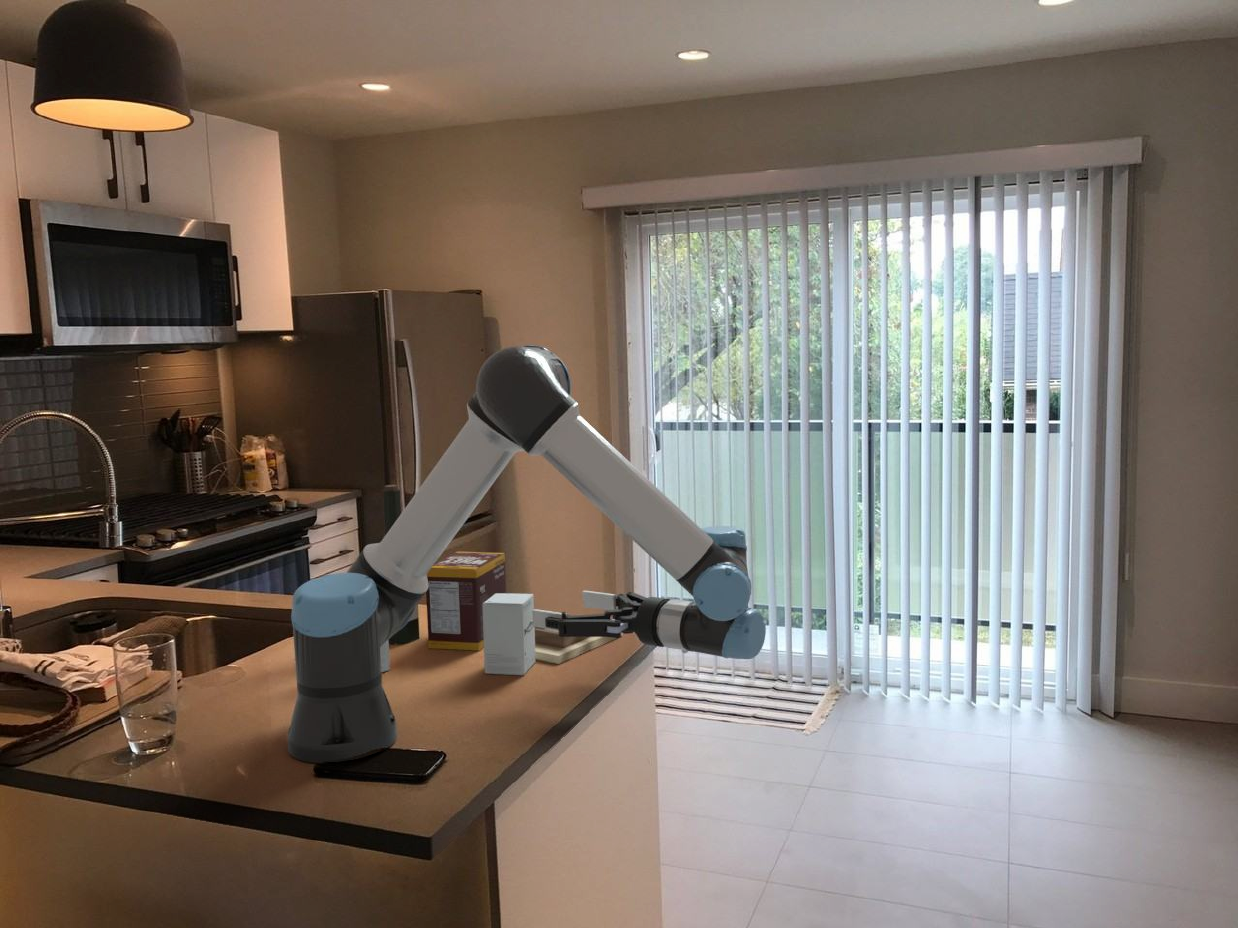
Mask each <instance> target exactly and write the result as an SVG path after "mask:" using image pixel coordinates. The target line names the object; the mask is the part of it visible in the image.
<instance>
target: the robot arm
mask: <svg viewBox="0 0 1238 928" xmlns="http://www.w3.org/2000/svg"><path fill="white" fill-rule="evenodd" d="M570 376H571V375H570V374H569V371H568V368H567V367H566V364H564V362H563V361H562V360H561V358H560V357H558V356H557V355H556V354H555V353H554V352H552V351H550V350H549V349H547V348H546V347H541V346H537V345H531V344H530V345H529V344H528V345H527V344H526V345H523V346H519V345H518V346H508V347H505V348H504V347H503V348H502V349H500V350H498V351H496V352H494V353H492V355H490V356H489V357H488V358H487V359H486V360H485V361H484V363H483V364H482V366H481V367H480V369H479V372H478V375H477V378H476V385H475V388H476V389H475V393H474V394H473V395H472V397H471V398H470V399H469V401H468V402H467V404H466V408H467V415H468V420H467V421H466V423H465V424H464V425H463V427H462V428H461V430H460V431H459V432H458V434H457V436H456V437H455V438H454V440H453V441H452V443H451V444H450V445H449V447H448V448H447V450H446V451H445V452H444V453H443V455H442V456H441V458H440V459H439V460H438V462H437V463H436V464H435V466H434V467H433V469H432V470H431V472H430V473H429V475H427V477H426V479H425V480H424V481H423V482H422V484H421V485H420V487H419V488H418V489H417V491H416V493H415V494H414V495H413V497H412V498H411V499H410V501H409V502H408V504H407V505H406V507H404V509H403V510H402V511H401V515H400V516H399V517H398V519H397V520H396V522H395V523H394V524H393V526H392V527H391V529H390V530H389V531H388V533H387V534H386V536H385V537H384V538H383V537H382V538H383V540H382V539H381V540H382V541H381V540H380V542H376V543H370V544H367V545H365V547H363V550H362V551H361V552H360V553H359V555H358V556H357V557H356V559H355V560H354V562H353V563H352V564H351V566H350V567H349V569H348V570H347V571H346V572H340V573H339V572H338V573H331V574H330V573H329V574H326V575H321V577H320V578H313V579H309V580H308V581H306V582H304V583H303V584H301V585H300V586H299V587H298V588H297V589H296V590H295V592H294V594H293V595H292V598H291V599H292V602H291V605H292V606H291V608H292V609H291V614H290V619H291V624H292V634H293V648H294V649H293V650H294V659H295V660H294V661H295V662H294V663H295V676H296V692H297V693H296V701H295V703H294V704H295V705H294V708H293V712H292V717H291V720H290V721H291V722H290V726H289V728H288V730H287V734H286V742H287V751H288V754H289V755H290V756H292V757H293V758H294V759H296V760H299V761H302V762H307V763H313V764H314V763H315V764H324V763H323V762H325V761H327V760H338V759H347V758H351V757H354V756H358V755H361V754H365V753H367V752H369V751H371V750H375V749H380V748H387V749H389V748H390V747H392V745H394V744H395V742H396V741H397V739H398V728H397V726H398V725H397V720H396V717H395V715H394V713H393V709H392V706H391V705H390V702H389V699H388V697H387V695H386V692H385V689H384V687H383V679H382V677H383V676H382V672H381V656H380V647H381V646H382V645H383V644H384V643H385V642H386V641H387V640H388V639H389V638H391V637H392V636H393V635H394V634H395V633H397V632H398V631H399V630H401V629H402V628H403V627H404V626H405V625H406V624H407V623H408V621H409V620H410V618H411V617H412V614H413V612H414V610H415V606H416V605H417V604H418V605H419V602H420V601H421V599H422V598H423V597H424V595H426V591H427V590H428V588H429V583H428V579H427V573H428V572H429V571H430V569H431V568H432V566H433V565H434V564H435V563H436V562H438V561H439V558H440V557H441V556H442V554H443V553H444V551H445V550H446V549H447V547H448V546H449V545H450V543H451V542H452V541H453V540H454V537H455V536H456V535H457V533H458V532H459V531H460V529H461V528H462V527H463V525H464V524H465V523H466V521H467V520H468V519H469V517H470V516H471V514H472V513H473V512H474V510H475V509H476V507H477V506H478V505H479V504H480V502H481V500H483V498H484V497H485V495H486V494H487V492H488V491H489V490H490V489H491V487H492V486H493V485H494V483H495V482H496V480H497V479H498V477H499V476H500V475H501V473H502V472H503V470H504V469H505V468H506V467H507V465H508V464H509V462H510V461H511V460H512V459H513V457H514V455H515V454H517V453H520V452H526V453H527V454H528V455H529V456H541V457H542V458H544V460H546V461H547V462H548V463H549V464H550V465H551V466H552V467H553V468H554V469H555V470H556V471H557V472H559V473H560V475H562V476H563V477H564V478H566V479H567V481H568V482H569V483H571V484H572V486H574V487H575V488H576V489H577V490H578V491H579V492H580V493H581V494H582V495H584V496H585V497H586V499H588V500H589V501H590V502H591V503H592V504H594V505H595V507H597V508H598V510H600V511H601V512H602V513H603V514H604V515H605V516H606V517H607V518H608V519H609V520H611V521H612V523H614V524H615V525H616V526H617V527H618V528H619V529H621V531H623V532H624V533H625V534H626V535H627V536H628V537H629V538H630V539H631V540H632V541H633V542H634V543H636V544H637V546H638V547H640V549H642V550H643V551H644V552H645V553H646V554H647V555H649V557H650V558H651V559H653V560H654V561H655V562H656V563H657V564H658V565H660V567H661V568H662V569H664V571H666V572H667V573H668V574H669V575H670V576H671V577H672V578H673V579H674V580H675V581H677V583H678V584H679V585H680V586H681V587H682V588H683V589H684V590H685V591H686V592H688V593H689V594H690V595H691V596H692V598H693V601H691V600H685V599H684V600H683V599H678V598H677V599H676V598H675V599H674V598H673V599H672V598H671V599H670V598H665V597H664V598H663V597H657V596H649V597H646V596H644V595H641V594H638V593H635V592H633V591H627V592H626V594H623V593H619V594H617V595H616V594H613V593H608V592H599V591H591V590H582V593H581V594H582V608H590V609H597V610H605V612H604V613H594V614H593V613H591V614H578V615H577V614H575V615H576V616H567V614H568V613H567V612H566V611H561V613H559V612H560V611H555V612H552V611H553V610H544V609H543V610H542V609H537V608H536V609H535V608H534V610H532V615H533V627H540V628H546V629H552V630H558V631H559V636H560V637H612V638H616V639H619V638H621V637H622V636H621V632H622V634H625V635H626V634H628V635H629V634H633V633H634V634H635V635H636V636H637V639H638V640H639V641H640V642H641V643H642V644H644V645H647V646H652V647H659V648H668V649H673V650H679V651H680V650H681V653H682V654H686V653H688V652H691V653H692V652H694V653H699V654H704V655H710V656H715V657H721V658H723V659H737V660H752V659H755V657H756V656H758V655H759V653H760V652H761V651H762V649H763V646H764V643H765V639H766V633H767V632H766V628H767V627H766V623H765V621H764V616H763V614H762V613H761V612H760V611H759V610H757V609H754V608H752V607H749V603H750V599H751V595H752V582H751V578H750V577H749V572H748V571H749V570H748V564H747V552H748V546H747V545H746V540H747V539H746V534H745V531H744V530H743V529H741V528H740V527H736V526H730V525H713V526H706V527H703V528H701V527H700V526H698V524H696V523H695V522H694V521H693V519H692V518H690V517H689V516H688V515H687V514H686V513H685V512H684V511H683V510H682V509H680V508H679V507H678V506H677V505H676V504H675V503H674V502H673V501H672V500H671V499H670V498H669V497H668V496H667V495H666V494H665V493H663V492H662V491H661V490H660V489H659V488H658V487H657V486H656V485H655V484H653V483H652V482H651V481H650V479H648V478H647V477H646V476H645V475H644V474H643V473H642V472H641V471H640V470H639V469H638V468H637V467H635V465H633V464H632V463H631V461H629V460H628V459H627V458H626V457H625V456H624V455H623V454H622V453H621V452H620V451H619V450H617V448H615V447H614V446H613V444H611V443H610V442H609V441H608V440H607V439H605V437H604V436H602V435H601V434H600V433H599V432H598V431H597V430H596V429H595V428H594V427H593V426H592V425H591V424H590V423H589V422H588V421H586V420H585V418H584V417H582V416H581V414H580V406H579V403H578V402H577V401H576V400H575V399H574V398H573V397H572V396H571V389H572V384H571V382H572V381H571V377H570ZM566 613H567V614H566ZM611 616H612V618H611ZM388 747H389V748H388Z"/></svg>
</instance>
